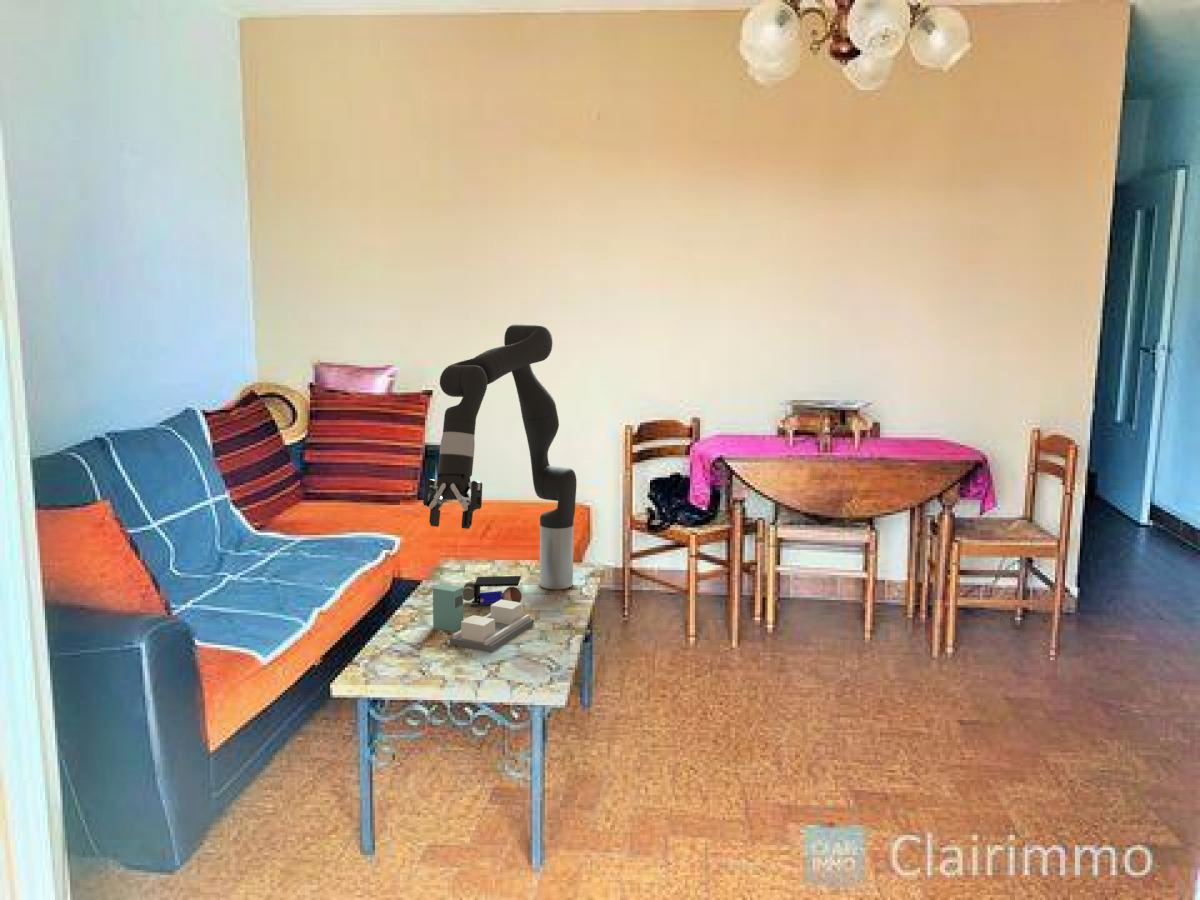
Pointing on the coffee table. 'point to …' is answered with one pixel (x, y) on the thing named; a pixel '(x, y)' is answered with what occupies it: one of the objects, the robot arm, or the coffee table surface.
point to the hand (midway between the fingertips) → (449, 527)
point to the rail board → (495, 635)
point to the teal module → (447, 607)
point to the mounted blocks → (491, 620)
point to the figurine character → (510, 594)
